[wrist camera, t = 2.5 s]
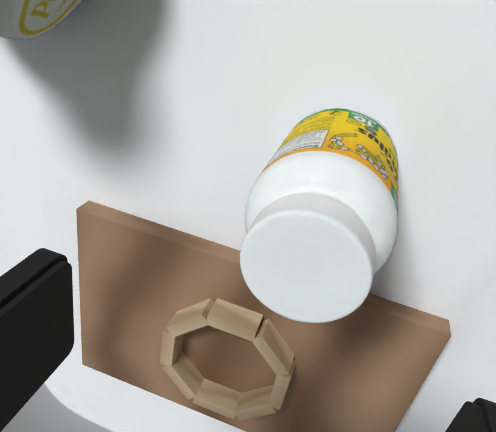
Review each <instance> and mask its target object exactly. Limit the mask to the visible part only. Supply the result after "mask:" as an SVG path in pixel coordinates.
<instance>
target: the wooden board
mask: <svg viewBox="0 0 496 432" xmlns="http://www.w3.org/2000/svg"><path fill="white" fill-rule="evenodd" d="M77 235H78V261H79V287H80V313H81V339H82V364H83V365H85V366H88V367H90V368H93V369H95V370H97V371H100V372H102V373H105V374H107V375H110V376H112V377H115V378H117V379H119V380H122V381H124V382H127V383H129V384H132V385H134V386H137V387H139V388H141V389H144V390H146V391H149V392H151V393H154V394H156V395H158V396H161V397H163V398H166V399H168V400H171V401H173V402H176V403H178V404H180V405H183V406H185V407H188V408H190V409H193V410H195V411H198V412H200V413H202V414H205V415H207V416H210V417H212V418H215V419H217V420H220V421H222V422H224V423H227V424H229V425H232V426H234V427H237V428H239V429H242V430H244V431H246V432H394V431H395V430H396V428H397V426H398V424H399V423H400V421H401V419H402V418H403V416H404V414H405V413H406V411H407V409H408V408H409V406H410V404H411V403H412V401H413V399H414V397H415V396H416V394H417V392H418V391H419V389H420V387H421V386H422V384H423V382H424V381H425V379H426V377H427V376H428V374H429V372H430V370H431V369H432V367H433V365H434V364H435V362H436V360H437V359H438V357H439V355H440V354H441V352H442V350H443V349H444V347H445V345H446V343H447V342H448V340H449V338H450V337H451V332H450V325H449V320H446V319H443V318H440V317H437V316H434V315H431V314H428V313H425V312H422V311H419V310H416V309H413V308H410V307H407V306H404V305H401V304H398V303H395V302H392V301H389V300H386V299H383V298H380V297H377V296H374V295H371V294H368V296H367V297H366V299H365V300H364V302H363V303H362V304H361V305H360V306H359V307H358V308H357V309H356V310H354V311H353V312H352V313H350V314H349V315H347V316H345V317H343V318H340V319H337V320H334V321H330V322H324V323H308V322H301V321H296V320H292V319H289V318H287V317H284V316H282V315H280V314H278V313H276V312H274V311H272V310H271V309H269V308H268V307H266V306H265V305H264V304H263V303H261V302H260V301H259V300H258V299H257V298H256V297H255V296H254V294H253V293H252V292H251V290H250V289H249V287H248V286H247V284H246V282H245V280H244V277H243V274H242V271H241V266H240V252H241V251H238V250H235V249H232V248H229V247H226V246H223V245H220V244H217V243H214V242H211V241H208V240H205V239H202V238H199V237H196V236H193V235H190V234H187V233H184V232H181V231H178V230H175V229H172V228H169V227H166V226H163V225H160V224H157V223H154V222H151V221H148V220H145V219H142V218H139V217H136V216H133V215H130V214H127V213H124V212H121V211H118V210H115V209H112V208H109V207H106V206H103V205H100V204H97V203H94V202H91V201H88V202H86V203H85V204H83V205H82V206H80V207H79V208H77Z"/></svg>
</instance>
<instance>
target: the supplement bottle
mask: <svg viewBox="0 0 496 432" xmlns="http://www.w3.org/2000/svg"><path fill="white" fill-rule="evenodd" d="M397 173H398V163H397V152H396V148H395V145H394V142H393V140H392V137H391V136H390V134H389V132H388V131H387V129H386V128H385V127H384V126H383V125H382V124H381V123H380V122H379V121H377V120H376V119H375V118H373V117H371V116H370V115H368V114H366V113H364V112H362V111H359V110H357V109H354V108H350V107H344V106H334V107H328V108H323V109H320V110H318V111H315V112H313V113H311V114H309V115H308V116H306V117H305V118H303V119H302V120H301V121H300V122H299V123H298V124H297V125H296V126H295V127H294V128H293V129H292V131H291V132H290V133H289V134H288V136H287V137H286V139H285V140H284V142H283V143H282V145H281V146H280V147H279V149H278V150H277V152H276V153H275V154H274V156H273V157H272V159H271V160H270V161H269V163H268V164H267V166H266V167H265V168H264V170H263V171H262V173H261V174H260V175H259V177H258V178H257V180H256V181H255V183H254V185H253V187H252V188H251V191H250V193H249V196H248V199H247V202H246V207H245V227H246V232H247V234H246V236H245V238H244V240H243V243H242V247H241V252H240V266H241V271H242V274H243V277H244V280H245V282H246V284H247V286H248V287H249V289H250V290H251V292H252V293H253V294H254V296H255V297H256V298H257V299H258V300H259V301H260V302H261V303H263V304H264V305H265V306H266V307H268V308H269V309H271V310H272V311H274V312H276V313H278V314H280V315H282V316H284V317H287V318H289V319H292V320H296V321H301V322H308V323H324V322H330V321H334V320H337V319H340V318H343V317H345V316H347V315H349V314H350V313H352V312H353V311H354V310H356V309H357V308H358V307H359V306H360V305H361V304H362V303H363V302H364V300H365V299H366V297H367V296H368V293H369V291H370V289H371V285H372V282H373V276H374V274H375V273H376V272H377V271H378V270H379V269H380V268H381V267H382V266H383V265H384V263H385V262H386V261H387V259H388V258H389V256H390V254H391V252H392V250H393V247H394V245H395V241H396V237H397V230H398V193H397V191H398V183H397V181H398V174H397Z"/></svg>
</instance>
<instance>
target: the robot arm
mask: <svg viewBox="0 0 496 432" xmlns="http://www.w3.org/2000/svg"><path fill="white" fill-rule="evenodd" d="M73 345H74V318H73V288H72V266H71V264H69V263H68V261H67V258H66V256H65V255H62V254H59V253H56V252H53V251H50V250H48V249H45V248H41V249H38V250H36V251H35V252H34V253H32V254H31V255H30V256H28V257H27V258H25V259H24V260H23V261H21V262H20V263H19V264H17V265H16V266H14V267H13V268H12V269H10V270H9V271H8V272H6V273H5V274H3V275H2V276H1V277H0V432H1V431H2V430H3V428H4V427H5V426H6V425H7V424H8V423H9V422H10V421H11V420H12V418H13V417H14V416H15V415H16V414H17V413H18V412H19V410H20V409H21V408H22V407H23V406H24V405H25V404H26V402H27V401H28V400H29V399H30V398H31V397H32V396H33V395H34V393H35V392H36V391H37V390H38V389H39V388H40V387H41V385H42V384H43V383H44V382H45V381H46V380H47V379H48V378H49V376H50V375H51V374H52V373H53V372H54V371H55V370H56V369H57V367H58V366H59V365H60V364H61V363H62V362H63V361H64V359H65V358H66V357H67V356H68V355H69V353H70V352H71V350H72V348H73ZM445 432H496V403H494V402H491V401H488V400H485V399H482V398H477V399H476V400H475V401H474V402H473V403H472V402H469V401H467V402H465V403H464V405H463V406H462V408H461V409H460V411H459V412H458V414H457V415H456V416H455V418H454V419H453V421H452V422H451V424H450V425H449V427H448V428H447V430H446V431H445Z"/></svg>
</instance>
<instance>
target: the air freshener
mask: <svg viewBox="0 0 496 432" xmlns="http://www.w3.org/2000/svg"><path fill="white" fill-rule="evenodd" d="M81 1H82V0H0V36H1V37H5V38H10V39H32V38H36V37H38V36H40V35H42V34H44V33H46V32H48V31H49V30H51V29H52V28H53V27H55V26H56V25H57V24H59V23H60V22H61V21H62V20H63V19H65V18H66V17H67V16H68V15H69V14H70V13H71V12H72V11H73V10H74V9H75V8H76V7H77V6H78V5H79V3H80V2H81Z"/></svg>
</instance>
